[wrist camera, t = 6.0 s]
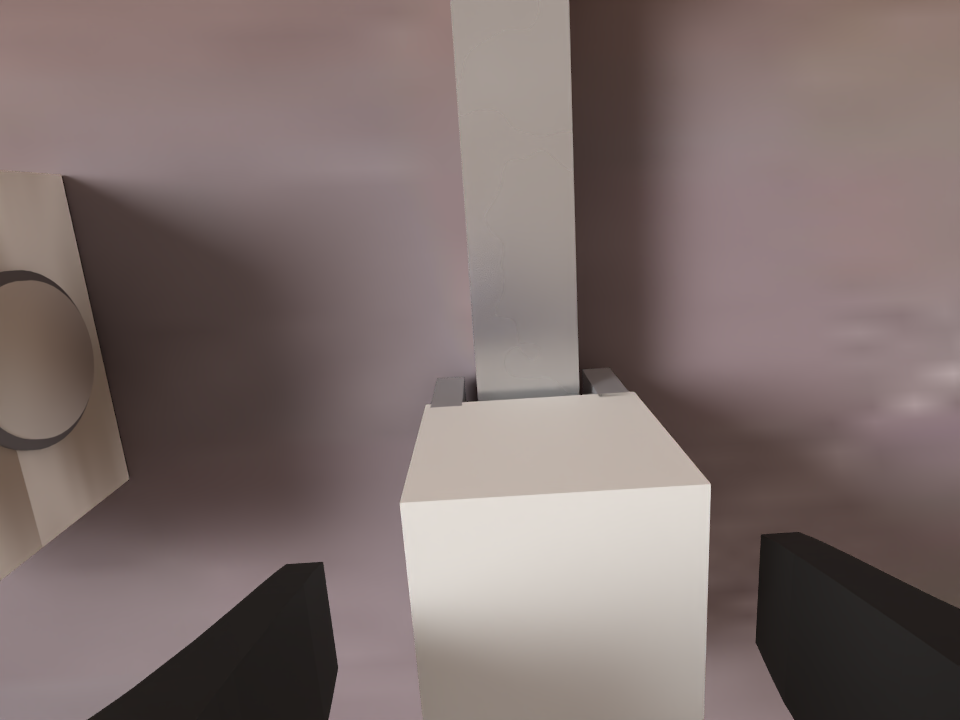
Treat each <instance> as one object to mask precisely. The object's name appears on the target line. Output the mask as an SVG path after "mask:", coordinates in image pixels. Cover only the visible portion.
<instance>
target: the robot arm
mask: <svg viewBox="0 0 960 720" xmlns="http://www.w3.org/2000/svg"><path fill="white" fill-rule="evenodd" d="M756 644H757V646H758V649H759V651H760V653H761V655H762V657H763V660H764V662H765V664H766V666H767V668H768V671H769V673H770V675H771V677H772V679H773V681H774V683H775V685H776V687H777V689H778V691H779V693H780V695H781V697H782V700H783V702H784V703H785V705H786V707H787V708H788V710H789V712H790V713H791V715H792V717H793V718H794V720H960V609H959V608H956V607H954V606H952V605H950V604H948V603H946V602H944V601H942V600H939V599H937V598H935V597H933V596H931V595H929V594H927V593H925V592H923V591H921V590H919V589H917V588H915V587H913V586H911V585H909V584H907V583H905V582H903V581H901V580H899V579H897V578H895V577H893V576H891V575H889V574H887V573H885V572H883V571H881V570H879V569H877V568H875V567H873V566H871V565H869V564H867V563H865V562H863V561H861V560H859V559H857V558H855V557H853V556H850V555H848V554H846V553H844V552H842V551H840V550H838V549H836V548H834V547H832V546H830V545H828V544H826V543H823V542H821V541H819V540H817V539H814V538H812V537H810V536H807V535H805V534H802V533H800V532H793V533H777V534H762V535H761V548H760V567H759V587H758V606H757V626H756ZM337 671H338V664H337V657H336V650H335V643H334V636H333V629H332V622H331V615H330V608H329V601H328V594H327V587H326V580H325V573H324V566H323V562H314V563H298V564H286V565H285V566H283V567H282V568H281V569H279V570H278V571H277V572H275V573H274V574H273V575H272V576H270V577H269V578H268V579H267V580H266V581H264V582H263V583H262V584H261V585H260V586H258V587H257V588H256V589H255V590H254V591H253V592H251V593H250V594H249V595H248V596H247V597H246V598H244V599H243V600H242V601H241V602H240V603H239V604H237V605H236V606H235V607H234V608H233V609H231V610H230V611H229V612H228V613H227V614H225V615H224V616H223V617H222V618H221V619H219V620H218V621H217V622H216V623H215V624H214V625H212V626H211V627H210V628H209V629H208V630H206V631H205V632H204V633H203V634H202V635H200V636H199V637H198V638H197V639H196V640H194V641H193V642H192V643H191V644H189V645H188V646H187V647H185V648H184V649H183V650H181V651H180V652H179V653H178V654H176V655H175V656H174V657H172V658H171V659H170V660H169V661H167V662H166V663H165V664H163V665H162V666H161V667H159V668H158V669H157V670H156V671H154V672H153V673H152V674H150V675H149V676H148V677H147V678H145V679H144V680H143V681H141V682H140V683H139V684H137V685H136V686H135V687H133V688H132V689H131V690H129V691H128V692H127V693H125V694H124V695H122V696H121V697H120V698H118V699H117V700H115V701H114V702H113V703H111V704H110V705H108V706H107V707H105V708H104V709H102V710H101V711H100V712H98V713H97V714H95V715H94V716H92V717H91V718H89V719H88V720H328V718H329V713H330V709H331V704H332V698H333V693H334V687H335V682H336V676H337Z"/></svg>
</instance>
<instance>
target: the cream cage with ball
mask: <svg viewBox="0 0 960 720" xmlns="http://www.w3.org/2000/svg"><path fill="white" fill-rule="evenodd" d="M128 480H129V475H128V471H127V466H126V462H125V457H124V453H123V449H122V444H121V440H120V435H119V431H118V426H117V422H116V417H115V413H114V408H113V404H112V399H111V395H110V390H109V386H108V382H107V377H106V373H105V368H104V364H103V359H102V355H101V350H100V346H99V341H98V337H97V332H96V328H95V324H94V319H93V315H92V310H91V306H90V301H89V297H88V292H87V288H86V283H85V279H84V274H83V270H82V266H81V261H80V257H79V252H78V248H77V243H76V239H75V234H74V230H73V225H72V221H71V216H70V212H69V207H68V203H67V199H66V194H65V190H64V185H63V181H62V176H61V175H59V174H45V173H32V172H18V171H4V170H0V581H1V580H2V579H3V578H4V577H6V576H7V575H8V574H10V573H11V572H12V571H13V570H15V569H16V568H17V567H18V566H20V565H21V564H22V563H24V562H25V561H26V560H27V559H29V558H30V557H31V556H32V555H34V554H35V553H36V552H38V551H39V550H40V549H41V548H43V547H44V546H45V545H46V544H48V543H49V542H50V541H52V540H53V539H54V538H55V537H57V536H58V535H59V534H60V533H62V532H63V531H64V530H66V529H67V528H68V527H69V526H71V525H72V524H73V523H75V522H76V521H77V520H78V519H80V518H81V517H82V516H83V515H85V514H86V513H87V512H89V511H90V510H91V509H92V508H94V507H95V506H96V505H97V504H99V503H100V502H101V501H103V500H104V499H105V498H106V497H108V496H109V495H110V494H111V493H113V492H114V491H115V490H117V489H118V488H119V487H120V486H122V485H123V484H124V483H125V482H127V481H128Z"/></svg>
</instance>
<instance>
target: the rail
mask: <svg viewBox="0 0 960 720" xmlns="http://www.w3.org/2000/svg"><path fill="white" fill-rule="evenodd" d="M450 3H451V18H452V32H453V47H454V61H455V75H456V90H457V104H458V119H459V133H460V148H461V162H462V176H463V191H464V205H465V220H466V234H467V249H468V263H469V277H470V292H471V306H472V321H473V335H474V349H475V364H476V378H477V393H478V401H492V400H508V399H524V398H540V397H556V396H572V395H579V357H578V319H577V281H576V243H575V205H574V167H573V130H572V92H571V54H570V16H569V0H450Z"/></svg>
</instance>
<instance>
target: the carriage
mask: <svg viewBox="0 0 960 720" xmlns="http://www.w3.org/2000/svg"><path fill="white" fill-rule="evenodd" d="M582 382H583V395H572V396H556V397H540V398H524V399H508V400H492V401H476V402H466V392H465V379H464V377H454V378H438V379H437V382H436V386H435V390H434V394H433V398H432V402H431V404H428V405H426V406H425V410H424V414H423V417H422V421H421V425H420V429H419V432H418V436H417V440H416V444H415V447H414V451H413V455H412V459H411V462H410V466H409V470H408V474H407V477H406V481H405V485H404V489H403V492H402V496H401V500H400V510H401V520H402V529H403V538H404V548H405V557H406V566H407V576H408V585H409V594H410V604H411V613H412V622H413V632H414V641H415V650H416V660H417V669H418V678H419V688H420V697H421V707H422V716H423V720H704V699H705V666H706V633H707V600H708V566H709V533H710V500H711V484H710V482H709V481H708V480H707V479H706V478H705V476H704V475H703V474H702V473H701V471H700V470H699V469H698V468H697V467H696V465H695V464H694V463H693V462H692V461H691V459H690V458H689V457H688V456H687V455H686V453H685V452H684V451H683V450H682V449H681V447H680V446H679V445H678V444H677V443H676V441H675V440H674V439H673V438H672V437H671V435H670V434H669V433H668V432H667V431H666V429H665V428H664V427H663V426H662V425H661V423H660V422H659V421H658V420H657V419H656V417H655V416H654V415H653V414H652V412H651V411H650V410H649V409H648V408H647V406H646V405H645V404H644V403H643V402H642V400H641V399H640V398H639V397H638V396H637V394H636V393H635V392H629V391H628V390H627V389H626V388H625V386H624V385H623V384H622V383H621V381H620V380H619V379H618V378H617V376H616V375H615V374H614V373H613V371H612V370H611V369H610V368H596V369H582Z"/></svg>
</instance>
